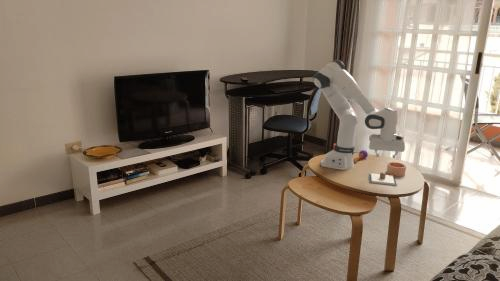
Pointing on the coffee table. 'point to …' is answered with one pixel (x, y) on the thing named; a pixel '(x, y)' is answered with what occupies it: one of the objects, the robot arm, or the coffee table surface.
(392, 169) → the bowl
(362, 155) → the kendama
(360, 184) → the coffee table surface
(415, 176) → the coffee table surface
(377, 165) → the coffee table surface
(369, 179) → the mat
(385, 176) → the lid
